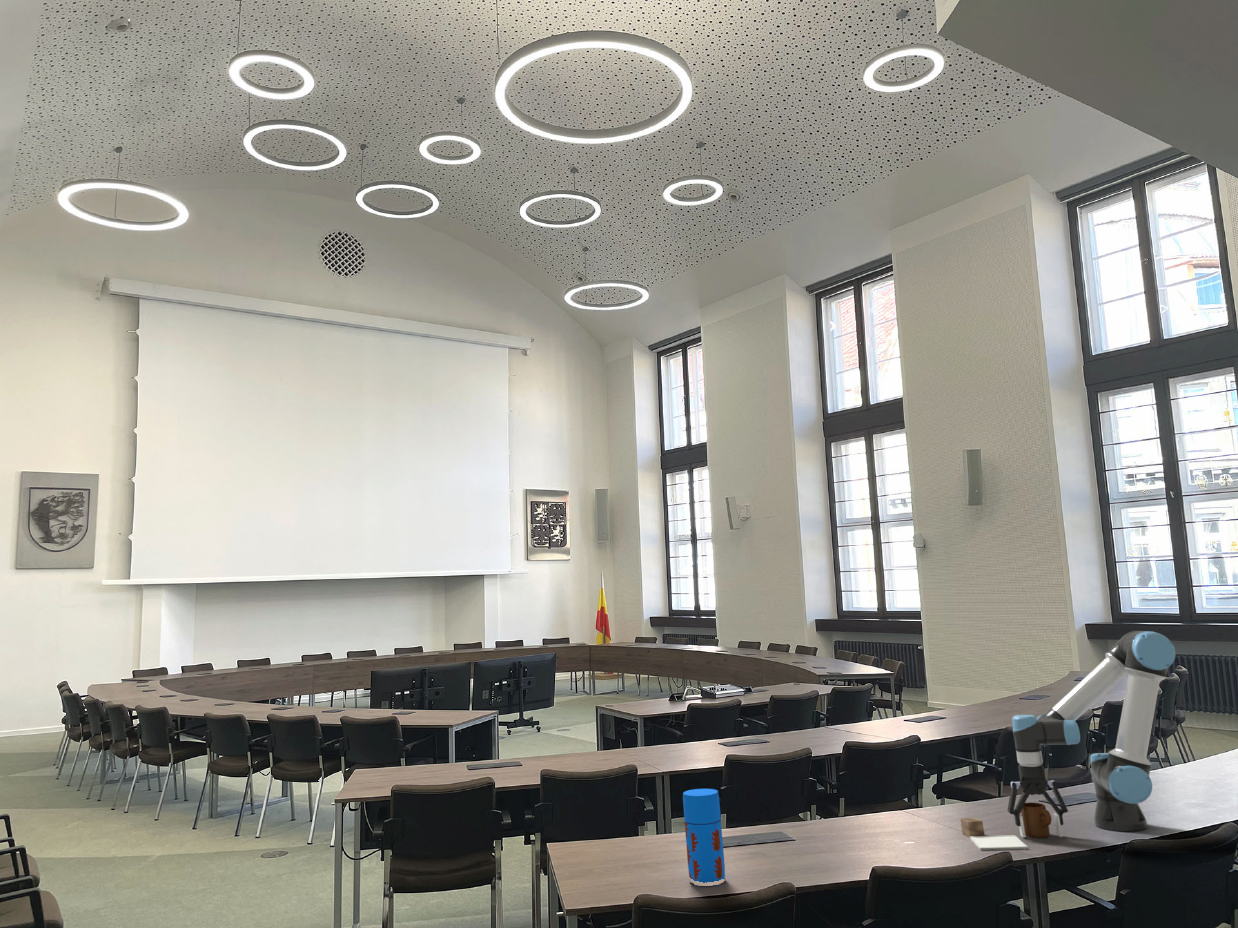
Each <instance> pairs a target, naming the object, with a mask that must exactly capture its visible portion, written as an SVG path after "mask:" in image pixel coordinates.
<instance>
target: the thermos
mask: <svg viewBox="0 0 1238 928" xmlns="http://www.w3.org/2000/svg"><path fill="white" fill-rule="evenodd" d="M718 791H719V790H717V789H714V788H694V789H689V790H686V791H684V792H683V793H682V803H683V805H682V806H683V818H684V829H685V843H686V845H685V846H686V856H687V869H688V876H689V877H690V878H691V879H693V880H694V881H699V882H703V883H705V882H706V883H707V882H714V881H719V880H721V879H724V877H725V878H726V866H725V855H724V854H725V853H724V843H723V842H724V841H723V830H722V829H723V828H722V819H721V806H720V796H719V792H718ZM689 877H688V878H689Z"/></svg>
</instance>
